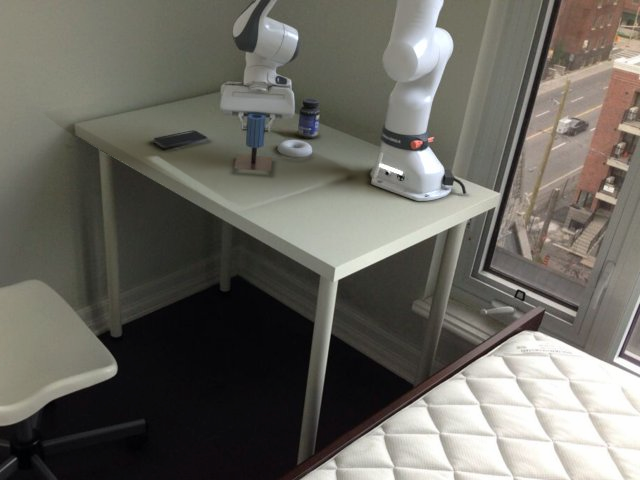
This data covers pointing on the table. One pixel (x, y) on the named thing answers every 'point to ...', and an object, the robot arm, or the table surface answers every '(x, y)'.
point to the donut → (294, 148)
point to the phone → (179, 140)
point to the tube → (255, 130)
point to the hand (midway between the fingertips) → (255, 130)
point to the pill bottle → (309, 119)
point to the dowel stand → (253, 162)
